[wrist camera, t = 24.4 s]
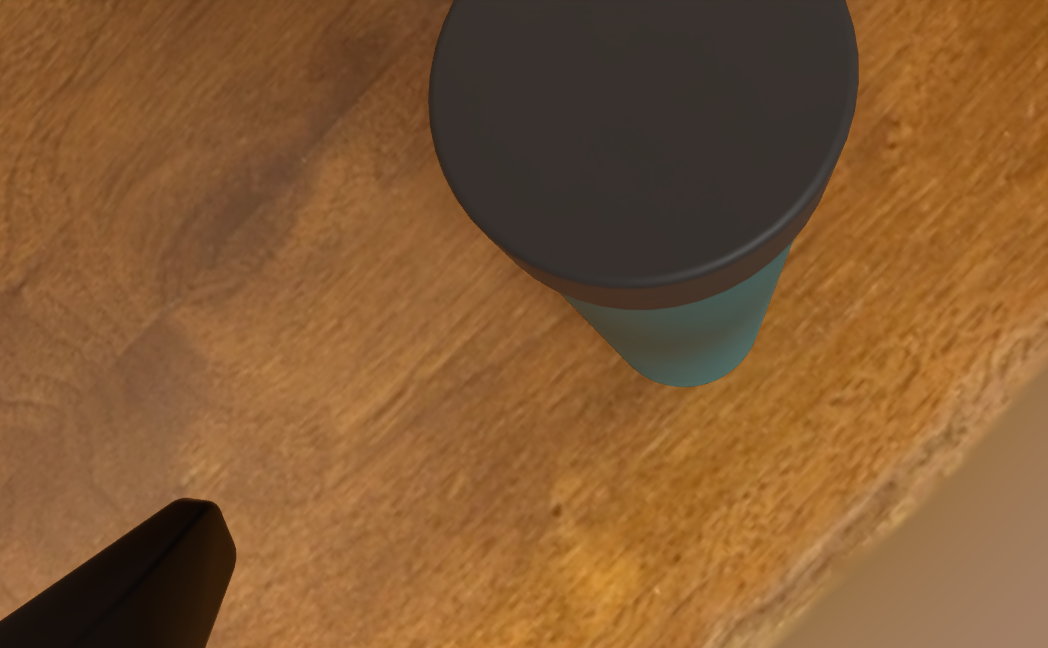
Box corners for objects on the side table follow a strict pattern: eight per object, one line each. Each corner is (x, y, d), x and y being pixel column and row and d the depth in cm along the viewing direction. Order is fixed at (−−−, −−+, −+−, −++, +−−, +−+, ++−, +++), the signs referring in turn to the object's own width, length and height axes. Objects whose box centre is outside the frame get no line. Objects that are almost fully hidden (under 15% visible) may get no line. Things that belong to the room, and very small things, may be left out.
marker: (794, 328, 19) (962, 79, 6) (676, 426, 20) (602, 379, 7) (693, 217, 20) (657, -206, 7) (580, 312, 20) (347, 70, 7)
